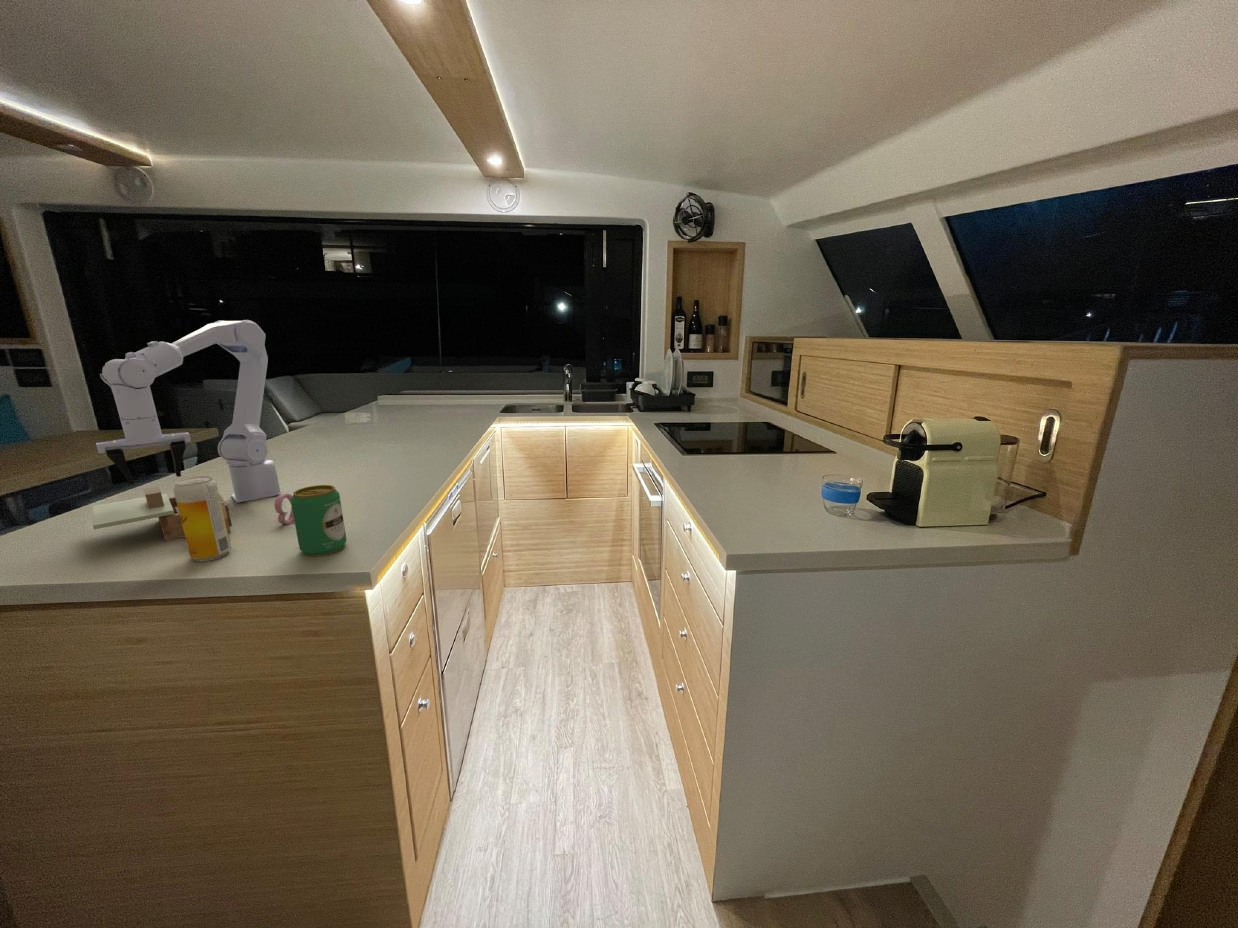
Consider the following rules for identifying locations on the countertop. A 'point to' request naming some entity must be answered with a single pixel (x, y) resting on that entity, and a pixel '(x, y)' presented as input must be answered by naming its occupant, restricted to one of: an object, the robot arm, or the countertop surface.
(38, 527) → the countertop surface
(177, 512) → the wooden box
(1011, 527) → the countertop surface
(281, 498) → the decorative key
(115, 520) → the lid
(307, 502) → the beverage can
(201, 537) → the beer can
